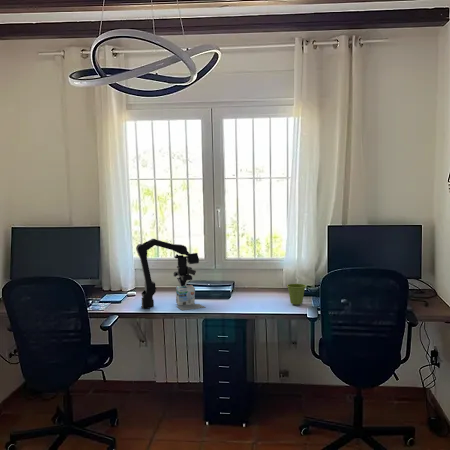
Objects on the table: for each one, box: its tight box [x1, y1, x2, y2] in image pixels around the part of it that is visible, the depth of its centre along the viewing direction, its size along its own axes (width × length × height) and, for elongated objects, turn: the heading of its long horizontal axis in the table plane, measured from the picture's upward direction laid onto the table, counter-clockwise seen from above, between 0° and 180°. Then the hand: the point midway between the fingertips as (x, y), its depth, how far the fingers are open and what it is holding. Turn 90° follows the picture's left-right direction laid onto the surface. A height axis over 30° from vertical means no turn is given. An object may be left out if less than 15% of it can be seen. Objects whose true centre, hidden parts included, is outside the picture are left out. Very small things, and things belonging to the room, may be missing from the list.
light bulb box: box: [175, 284, 196, 306], centre depth 325 cm, size 11×7×11 cm, turn 111°
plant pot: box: [286, 283, 307, 305], centre depth 320 cm, size 12×12×11 cm
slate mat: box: [175, 303, 206, 311], centre depth 317 cm, size 15×11×1 cm
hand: (183, 289), depth 328 cm, fingers closed
